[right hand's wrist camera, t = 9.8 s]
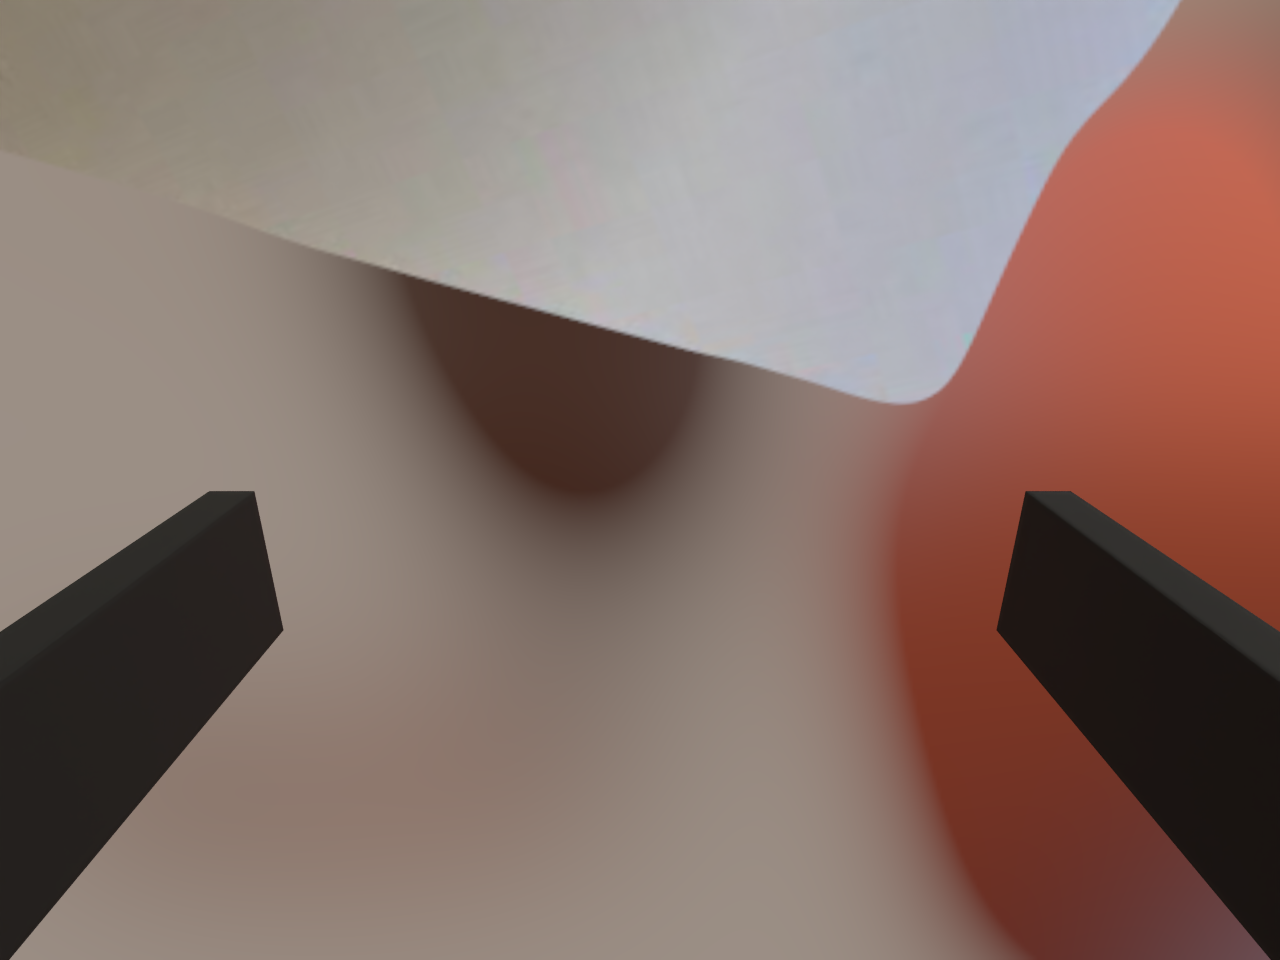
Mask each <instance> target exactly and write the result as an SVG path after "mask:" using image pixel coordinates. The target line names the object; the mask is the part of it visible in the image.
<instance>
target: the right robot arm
mask: <svg viewBox="0 0 1280 960" xmlns="http://www.w3.org/2000/svg"><path fill="white" fill-rule="evenodd" d="M282 631H283V626H282V621H281V616H280V612H279V607H278V602H277V597H276V592H275V588H274V583H273V578H272V573H271V569H270V564H269V559H268V554H267V549H266V545H265V540H264V535H263V530H262V526H261V521H260V516H259V512H258V506H257V502H256V497H255V492H254V491H209V492H208V493H206V494H205V495H203V496H202V497H200V498H199V499H197V500H196V501H194V502H193V503H191V504H190V505H188V506H187V507H185V508H184V509H182V510H181V511H179V512H178V513H176V514H175V515H173V516H172V517H170V518H169V519H167V520H166V521H164V522H163V523H162V524H160V525H158V526H157V527H155V528H154V529H153V530H151V531H150V532H148V533H147V534H145V535H144V536H142V537H141V538H139V539H138V540H136V541H135V542H133V543H132V544H130V545H129V546H127V547H126V548H124V549H123V550H121V551H120V552H118V553H117V554H115V555H114V556H112V557H111V558H109V559H108V560H106V561H105V562H103V563H102V564H100V565H99V566H98V567H96V568H95V569H93V570H92V571H90V572H89V573H87V574H86V575H84V576H83V577H81V578H80V579H78V580H77V581H75V582H74V583H72V584H71V585H69V586H68V587H66V588H65V589H63V590H62V591H60V592H59V593H57V594H56V595H54V596H53V597H51V598H50V599H48V600H47V601H46V602H44V603H43V604H41V605H40V606H38V607H37V608H35V609H34V610H32V611H31V612H29V613H28V614H26V615H25V616H23V617H22V618H20V619H19V620H17V621H16V622H14V623H13V624H11V625H10V626H8V627H7V628H5V629H4V630H2V631H1V632H0V960H9V959H10V958H11V957H12V956H13V954H14V953H15V952H16V951H17V950H18V948H19V947H20V946H21V945H22V944H23V942H24V941H25V940H26V939H27V938H28V936H29V935H30V934H31V933H32V932H33V930H34V929H35V928H36V927H37V926H38V924H39V923H40V922H41V921H42V920H43V918H44V917H45V916H46V915H47V914H48V912H49V911H50V910H51V909H52V908H53V906H54V905H55V904H56V903H57V902H58V900H59V899H60V898H61V897H62V896H63V894H64V893H65V892H66V891H67V889H68V888H69V887H70V886H71V885H72V884H73V882H74V881H75V880H76V879H77V877H78V876H79V875H80V874H81V873H82V872H83V870H84V869H85V868H86V867H87V866H88V864H89V863H90V862H91V861H92V860H93V858H94V857H95V856H96V855H97V853H98V852H99V851H100V850H101V849H102V848H103V846H104V845H105V844H106V843H107V842H108V840H109V839H110V838H111V837H112V835H113V834H114V833H115V832H116V831H117V829H118V828H119V827H120V826H121V825H122V823H123V822H124V821H125V820H126V819H127V817H128V816H129V815H130V814H131V813H132V811H133V810H134V809H135V808H136V807H137V805H138V804H139V803H140V802H141V801H142V799H143V798H144V797H145V796H146V795H147V793H148V792H149V791H150V790H151V789H152V787H153V786H154V785H155V784H156V783H157V781H158V780H159V779H160V778H161V777H162V775H163V774H164V773H165V772H166V771H167V769H168V768H169V767H170V766H171V765H172V763H173V762H174V761H175V760H176V759H177V757H178V756H179V755H180V754H181V753H182V751H183V750H184V749H185V748H186V747H187V745H188V744H189V743H190V742H191V741H192V739H193V738H194V737H195V736H196V735H197V733H198V732H199V731H200V730H201V729H202V727H203V726H204V725H205V724H206V723H207V721H208V720H209V719H210V718H211V717H212V715H213V714H214V713H215V712H216V711H217V709H218V708H219V707H220V706H221V704H222V703H223V702H224V701H225V700H226V699H227V697H228V696H229V695H230V694H231V692H232V691H233V690H234V689H235V688H236V686H237V685H238V684H239V683H240V682H241V680H242V679H243V678H244V677H245V676H246V674H247V673H248V672H249V671H250V670H251V668H252V667H253V666H254V665H255V664H256V662H257V661H258V660H259V659H260V658H261V656H262V655H263V654H264V653H265V652H266V650H267V649H268V648H269V647H270V646H271V644H272V643H273V642H274V641H275V640H276V638H277V637H278V636H279V635H280V634H281V632H282ZM997 631H998V632H999V634H1000V635H1001V636H1002V637H1003V638H1004V640H1005V641H1006V642H1007V643H1008V644H1009V646H1010V647H1011V648H1012V649H1013V650H1014V652H1015V653H1016V654H1017V655H1018V656H1019V658H1020V659H1021V660H1022V661H1023V662H1024V664H1025V665H1026V666H1027V667H1028V668H1029V670H1030V671H1031V672H1032V673H1033V674H1034V676H1035V677H1036V678H1037V679H1038V680H1039V682H1040V683H1041V684H1042V685H1043V686H1044V688H1045V689H1046V690H1047V691H1048V692H1049V694H1050V695H1051V696H1052V697H1053V698H1054V700H1055V701H1056V702H1057V703H1058V704H1059V706H1060V707H1061V708H1062V709H1063V711H1064V712H1065V713H1066V714H1067V715H1068V717H1069V718H1070V719H1071V720H1072V721H1073V723H1074V724H1075V725H1076V726H1077V727H1078V729H1079V730H1080V731H1081V732H1082V733H1083V735H1084V736H1085V737H1086V738H1087V739H1088V741H1089V742H1090V743H1091V744H1092V745H1093V746H1094V748H1095V749H1096V750H1097V751H1098V753H1099V754H1100V755H1101V756H1102V757H1103V759H1104V760H1105V761H1106V762H1107V763H1108V765H1109V766H1110V767H1111V768H1112V769H1113V771H1114V772H1115V773H1116V774H1117V775H1118V777H1119V778H1120V779H1121V780H1122V781H1123V783H1124V784H1125V785H1126V786H1127V787H1128V789H1129V790H1130V791H1131V792H1132V793H1133V795H1134V796H1135V797H1136V798H1137V799H1138V801H1139V802H1140V803H1141V804H1142V805H1143V807H1144V808H1145V809H1146V810H1147V811H1148V813H1149V814H1150V815H1151V816H1152V817H1153V819H1154V820H1155V821H1156V822H1157V823H1158V825H1159V826H1160V827H1161V828H1162V829H1163V831H1164V832H1165V833H1166V834H1167V835H1168V837H1169V838H1170V839H1171V840H1172V841H1173V843H1174V844H1175V845H1176V846H1177V848H1178V849H1179V850H1180V851H1181V852H1182V853H1183V855H1184V856H1185V857H1186V858H1187V860H1188V861H1189V862H1190V863H1191V864H1192V866H1193V867H1194V868H1195V869H1196V870H1197V872H1198V873H1199V874H1200V875H1201V876H1202V878H1203V879H1204V880H1205V881H1206V882H1207V884H1208V885H1209V886H1210V887H1211V888H1212V890H1213V891H1214V892H1215V893H1216V894H1217V896H1218V897H1219V898H1220V899H1221V900H1222V902H1223V903H1224V904H1225V905H1226V906H1227V908H1228V909H1229V910H1230V911H1231V912H1232V914H1233V915H1234V916H1235V917H1236V918H1237V920H1238V921H1239V922H1240V923H1241V924H1242V925H1243V927H1244V928H1245V929H1246V930H1247V932H1248V933H1249V934H1250V935H1251V936H1252V938H1253V939H1254V940H1255V941H1256V942H1257V944H1258V945H1259V946H1260V947H1261V948H1262V950H1263V951H1264V952H1265V953H1266V954H1267V956H1268V957H1269V958H1270V959H1271V960H1280V632H1279V631H1278V630H1276V629H1275V628H1273V627H1272V626H1270V625H1269V624H1267V623H1266V622H1264V621H1263V620H1261V619H1260V618H1258V617H1257V616H1255V615H1254V614H1252V613H1251V612H1249V611H1248V610H1246V609H1245V608H1243V607H1242V606H1240V605H1239V604H1238V603H1236V602H1235V601H1233V600H1232V599H1230V598H1229V597H1227V596H1226V595H1224V594H1223V593H1221V592H1220V591H1218V590H1217V589H1215V588H1214V587H1212V586H1211V585H1209V584H1208V583H1206V582H1205V581H1203V580H1202V579H1200V578H1199V577H1197V576H1196V575H1194V574H1193V573H1191V572H1190V571H1188V570H1187V569H1185V568H1184V567H1182V566H1181V565H1179V564H1178V563H1177V562H1175V561H1174V560H1172V559H1171V558H1169V557H1168V556H1166V555H1165V554H1163V553H1162V552H1160V551H1159V550H1157V549H1156V548H1154V547H1153V546H1151V545H1150V544H1148V543H1147V542H1145V541H1144V540H1142V539H1141V538H1139V537H1138V536H1136V535H1135V534H1133V533H1132V532H1130V531H1129V530H1127V529H1126V528H1125V527H1123V526H1122V525H1120V524H1119V523H1117V522H1115V521H1114V520H1112V519H1111V518H1110V517H1108V516H1107V515H1105V514H1104V513H1102V512H1101V511H1099V510H1098V509H1096V508H1095V507H1093V506H1092V505H1090V504H1089V503H1087V502H1086V501H1084V500H1083V499H1081V498H1080V497H1078V496H1077V495H1075V494H1074V493H1072V492H1071V491H1026V492H1025V497H1024V502H1023V507H1022V511H1021V516H1020V521H1019V526H1018V531H1017V535H1016V540H1015V545H1014V549H1013V554H1012V559H1011V564H1010V569H1009V573H1008V578H1007V583H1006V588H1005V592H1004V597H1003V602H1002V607H1001V611H1000V616H999V621H998V626H997Z"/></svg>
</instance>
